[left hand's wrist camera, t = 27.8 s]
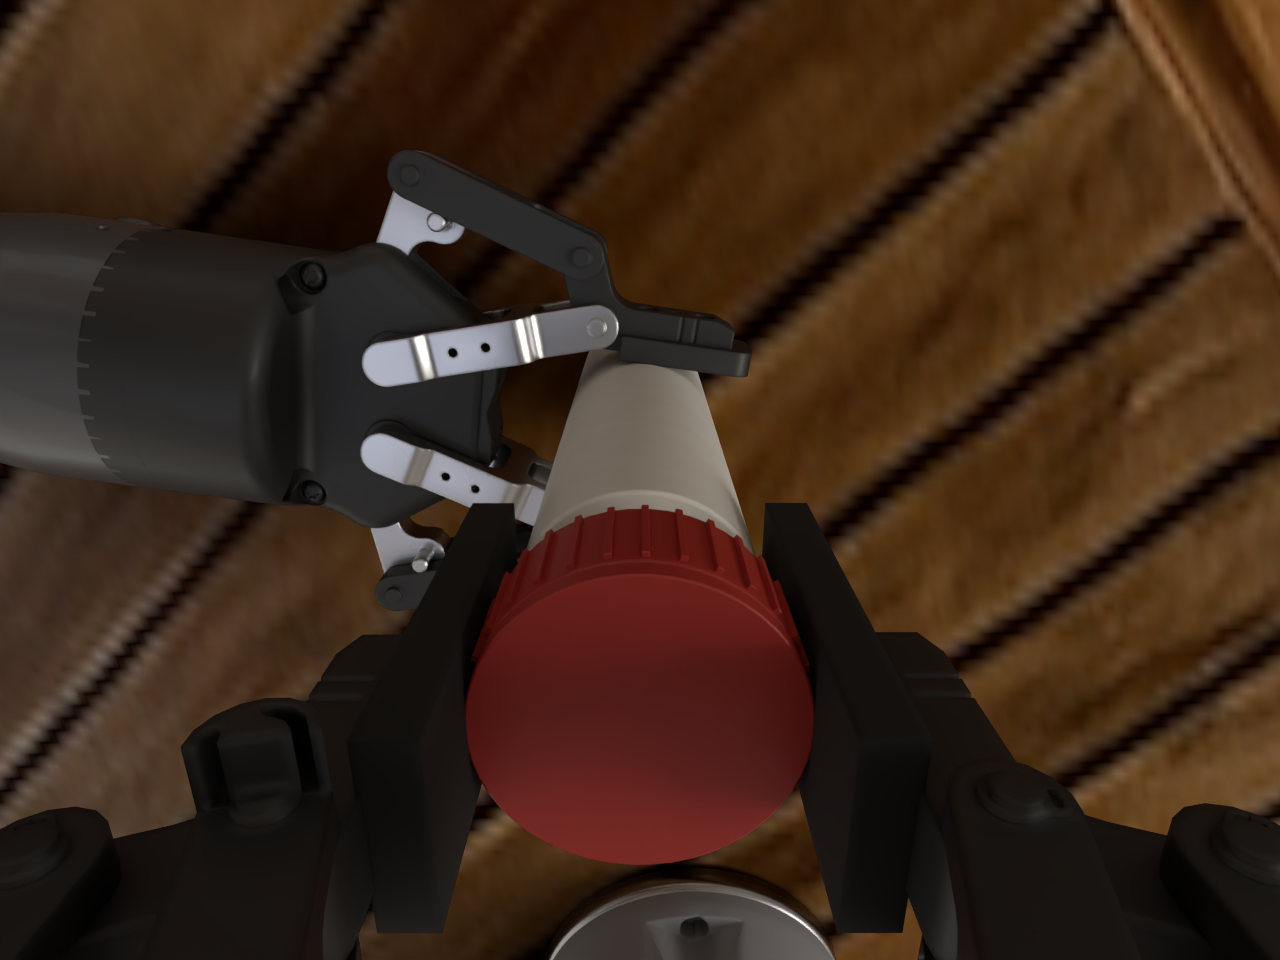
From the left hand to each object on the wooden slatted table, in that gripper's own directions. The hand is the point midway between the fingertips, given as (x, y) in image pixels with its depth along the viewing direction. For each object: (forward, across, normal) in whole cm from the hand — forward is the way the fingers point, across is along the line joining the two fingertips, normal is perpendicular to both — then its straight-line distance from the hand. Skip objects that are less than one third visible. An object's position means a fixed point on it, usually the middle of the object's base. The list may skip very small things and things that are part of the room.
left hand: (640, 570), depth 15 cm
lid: (-4, 0, 0) cm, 4 cm away
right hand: (+9, -3, 0) cm, 10 cm away
